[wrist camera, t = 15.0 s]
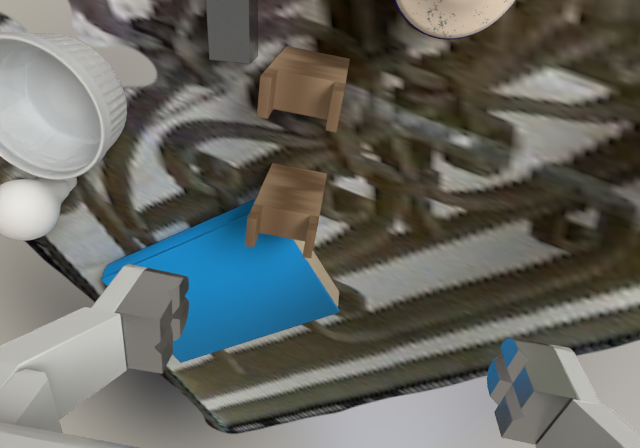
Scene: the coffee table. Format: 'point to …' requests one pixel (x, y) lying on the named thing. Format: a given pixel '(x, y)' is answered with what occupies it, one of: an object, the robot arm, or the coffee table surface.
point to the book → (237, 283)
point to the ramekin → (56, 105)
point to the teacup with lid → (452, 16)
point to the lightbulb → (31, 206)
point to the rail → (232, 30)
